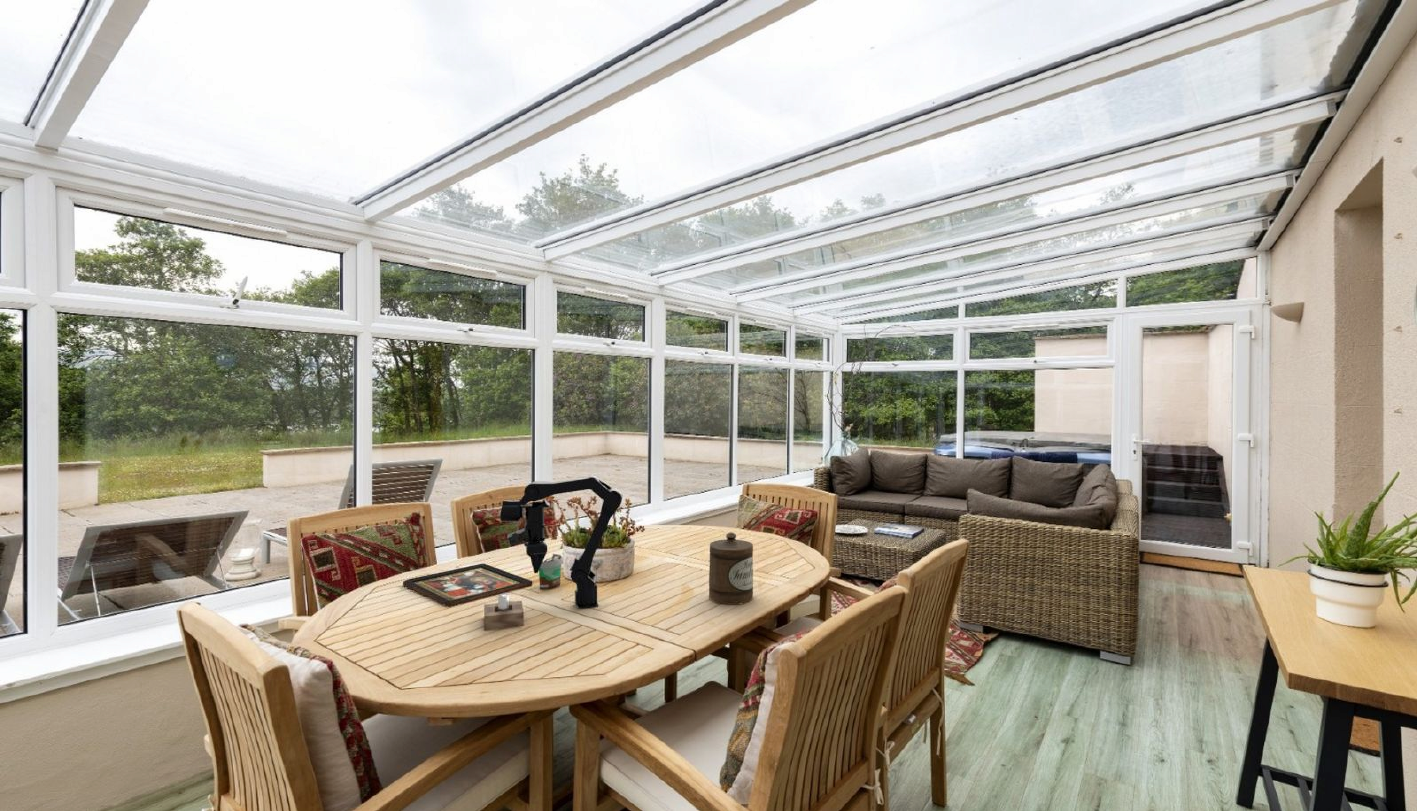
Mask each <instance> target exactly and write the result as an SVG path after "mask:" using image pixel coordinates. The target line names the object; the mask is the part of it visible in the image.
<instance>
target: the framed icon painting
mask: <svg viewBox="0 0 1417 811" xmlns="http://www.w3.org/2000/svg"><path fill="white" fill-rule="evenodd" d="M402 585H403V587H404V588H406V589H410V590H411V589H412V590H411V591H413V590H414V591H413V592H415V593H418V594H419V595H422V596H425V597H426V598H428V597H429V599H430V598H431V599H430V600H432V601H435V602H437V603H439V604H440V605H443V604H444V605H443V606H445V605H446V606H445V607H447V606H448V607H447V608H452V607H455V605H456V606H459V605H458V604H460V605H462V604H463V605H464V604H466V603H467V604H468V603H470V602H471V603H472V602H474V601H478V600H482V599H486V598H490V597H494V596H498V595H500V594H507V593H509V592H513V591H516V590H521V589H525V588H529V587H532V586H533V580H531V579H528V578H525V577H522V576H519V575H517V574H514V573H510V572H508V571H505V570H503V569H500V568H497V567H495V566H492V565H489V564H486V563H478V564H473V565H470V566H465V567H460V568H454V569H451V570H446V571H441V572H436V573H431V574H425V575H422V576H417V577H412V578H408V579H405V580H403V581H402ZM451 606H452V607H451Z"/></svg>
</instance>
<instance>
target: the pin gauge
mask: <svg viewBox="0 0 1417 811" xmlns="http://www.w3.org/2000/svg"><path fill="white" fill-rule="evenodd" d="M509 598H510V594H509V593H502V594H498V595H497V603H498V612H499V611H509V602H510V601H509V600H510V599H509Z"/></svg>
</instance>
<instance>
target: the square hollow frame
mask: <svg viewBox="0 0 1417 811" xmlns="http://www.w3.org/2000/svg"><path fill="white" fill-rule="evenodd" d="M522 601H523V600H516V601H514V600H513V601H509V611H499V612H498V602H496V603H486V604H484V606H483V611H484V612H483V613H484V614H483V615H484V616H483V629H484V630H483V631H488V630H497V629H498V630H499V629H505V628H514V627H516V628H517V627H523V626H525V624H524V623H525V622H524V621H525V620H524V618H525V617H524V615H525V614H524V613H525V612H524V607H523V606H524V605H523V602H522Z"/></svg>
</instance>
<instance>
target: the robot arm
mask: <svg viewBox="0 0 1417 811" xmlns="http://www.w3.org/2000/svg"><path fill="white" fill-rule="evenodd" d="M586 490H590V491H592V492H593V493H594V494H595V495H596V496H598V498H600V499H601V500H602V505H601V510H600V514H599V516H598V519H597V521H596V524H595V525H594V528H593V529H592V532H591V535H590V537H589V539H588V541H587V544H586V546H585V548H584V550H583V552H582V553H581V554H580V555H579V554H578V553H577V554H576V555H575V557H574V561H573V563H572V564H571V565H570V566H571V567H570V568H569V571H571V572H570V579H571V581H573V583H575V584H576V589H575V590H574V604H575V605H576V607H577V609H583V608H593V607H598V606H599V603H598V585H597V584H596V582H597V577H598V576H597V574H596V573H594V571H593V570H592V565H593V560H594V557H595V555H596V552H597V549H598V547H599V545H600V543H601V541H602V539H603V537H604V533H605V531H606V530H607V527H608V524H609V523H610V520H611V518H612V517H613V516H614V515H615V513H616V512H617V510H619V507H620V505H621V504H622V501H623V492H622V491H621V490H620V488H616V487H612V486H610V485H608V483H606V482H604V481H602V480H600V479H599V478H598V477H597V476H595V475H591V476H587V477H581V478H580V477H579V478H574V479H567V480H560V481H545V480H544V481H543V480H536V481H531V483H529V484H528V485H527V486H525V488H524V490H523V496H522V497H521V498H520V499H519V500H510V499H509V500H508V499H504V500H502V504H501V505H502V506H501V507H500V508H501V510H500V521H501V522H503V523H504V522H505V523H507V522H510V523H511V522H521V519H525V523H524V525H523V526H524V528H521V529H518V530H516V531H514V532H511V533H509V534H507V536H506V537H507V541H508V544H509V546H510V548H512V547H515V546H516V545H518V544H521V543H523V546H524V547H525V552H526V555H527V556H528V557H529V558H530V561H531V566H532V568H533V572H534V574H539V569H540V567H541V564H542V562H544V561H545V560H544V559H545V558H546V556H547V553H548V545H547V543H546V542H545V540H546V538H545V508H546V509H547V508H549V507H550V506H551V503H550V502H548V501H547V499H546V498H548V497H552V496H554V495H558V494H559V495H560V494H566V493H572V492H579V491H586ZM541 500H542V501H541ZM530 502H532V504H529V503H530Z"/></svg>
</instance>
